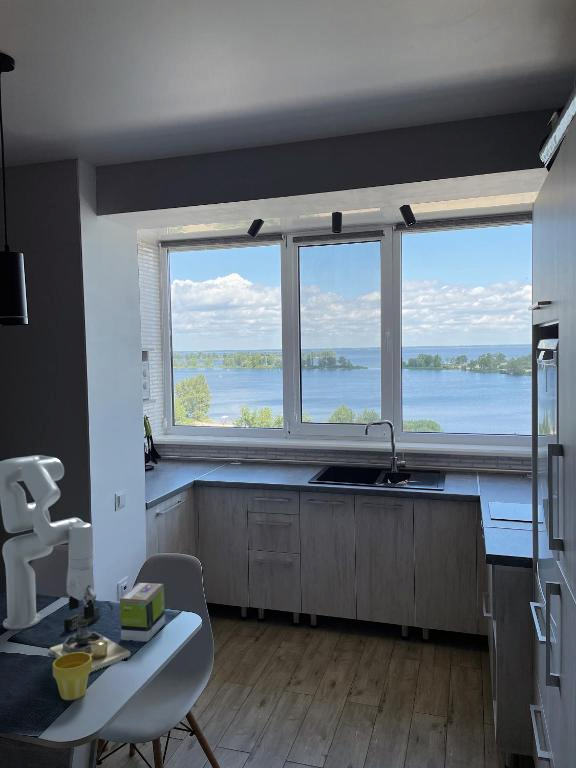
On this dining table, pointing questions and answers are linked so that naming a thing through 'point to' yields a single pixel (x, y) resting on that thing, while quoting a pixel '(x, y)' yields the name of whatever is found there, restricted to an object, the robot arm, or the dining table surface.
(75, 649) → the ring holder
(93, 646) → the brass post
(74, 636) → the grey knobbed cylinder
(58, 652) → the birch board
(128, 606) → the tea box
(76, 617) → the mobile phone
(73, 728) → the dining table surface
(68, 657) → the plant pot
